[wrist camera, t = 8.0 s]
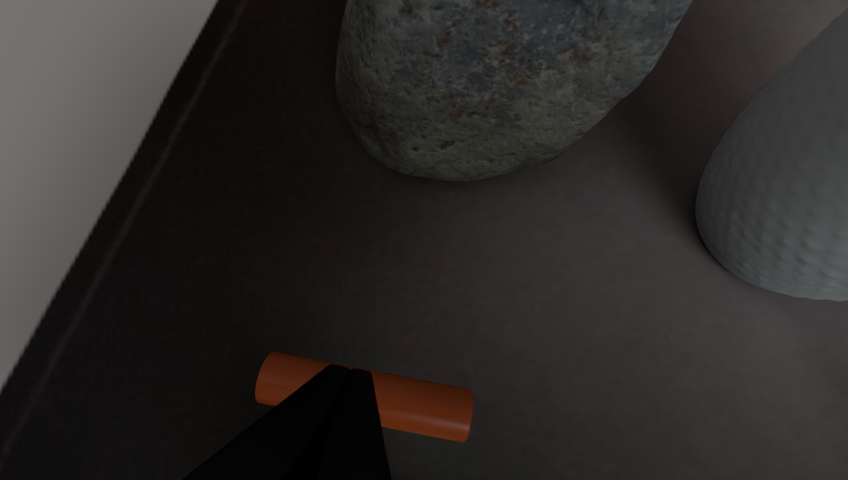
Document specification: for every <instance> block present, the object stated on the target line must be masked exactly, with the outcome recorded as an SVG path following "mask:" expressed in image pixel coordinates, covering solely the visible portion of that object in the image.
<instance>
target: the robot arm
mask: <svg viewBox="0 0 848 480" xmlns="http://www.w3.org/2000/svg"><path fill="white" fill-rule="evenodd" d="M182 480H391V475H390V469H389V464H388V458H387V453H386V448H385V442H384V437H383V431H382V426H381V421H380V415H379V410H378V404H377V399H376V394H375V388H374V383H373V377H372V374H371V372H370V371H367V370H361V369H356V368H353V369H351V370H350V369H349V368H348V367H346V366H340V365H335V364H330V365H328V366H326V367H325V368H324V369H323V370H321V371H320V372H319V373H317V374H316V375H315V376H314V377H312V378H311V379H310V380H309V381H307V382H306V383H305V384H303V385H302V386H301V387H300V388H298V389H297V390H296V391H294V392H293V393H292V394H291V395H289V396H288V397H287V398H286V399H284V400H283V401H282V402H280V403H279V404H278V405H277V406H275V407H274V408H273V409H271V410H270V411H269V412H268V413H266V414H265V415H264V416H263V417H261V418H260V419H259V420H257V421H256V422H255V423H254V424H252V425H251V426H250V427H249V428H247V429H246V430H245V431H243V432H242V433H241V434H240V435H238V436H237V437H236V438H234V439H233V440H232V441H231V442H229V443H228V444H227V445H226V446H224V447H223V448H222V449H220V450H219V451H218V452H217V453H215V454H214V455H213V456H211V457H210V458H209V459H208V460H206V461H205V462H204V463H203V464H201V465H200V466H199V467H197V468H196V469H195V470H194V471H192V472H191V473H190V474H188V475H187V476H186V477H185V478H183V479H182Z"/></svg>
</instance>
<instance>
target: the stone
mask: <svg viewBox="0 0 848 480" xmlns="http://www.w3.org/2000/svg"><path fill="white" fill-rule="evenodd" d="M691 2H692V0H347V3H346V7H345V11H344V15H343V20H342V25H341V29H340V35H339V40H338V48H337V60H336V72H335V89H336V97H337V102H338V107H339V110H340V112H341V113H342V115H343V116H344V118H345V120H346V122H347V123H348V125H349V126H350V128H351V129H352V131H353V133H354V135H355V137H356V138H357V140H358V142H359V143H360V145H361V146H362V147H363V148H364V150H365V151H366V152H367V153H368V154H369V155H370V156H371V157H372V158H373V159H375V160H376V161H377V162H379V163H380V164H382V165H383V166H385V167H386V168H389V169H391V170H394V171H397V172H399V173H402V174H406V175H410V176H417V177H425V178H432V179H438V180H448V181H464V182H469V181H472V180H481V179H485V178H489V177H492V176H497V175H503V174H507V173H510V172H514V171H518V170H521V169H524V168H527V167H532V166H537V165H541V164H544V163H547V162H549V161H551V160H554V159H556V158H557V157H559V156H560V155H561V154H563V153H564V152H565V151H567V150H568V149H569V148H571V147H572V146H573V145H574V144H575V143H576V142H578V141H579V140H580V139H581V138H582V137H583V136H584V135H585V134H586V133H587V132H588V131H589V130H590V129H591V128H593V127H594V126H595V125H596V124H597V123H598V122H599V121H600V120H602V119H603V118H604V117H605V116H606V115H607V114H608V113H609V112H610V111H611V110H612V109H613V108H614V106H615V105H616V104H617V103H618V102H620V101H621V100H622V99H623V98H625V97H626V96H627V95H629V94H630V93H631V92H632V91H634V90H635V89H636V88H637V87H638V86H639V85H640V84H641V82H642V81H643V80H644V78H645V77H646V76H647V75H648V74H649V73H650V72H651V71H652V70H653V68H654V66H655V65H656V63H657V61H658V60H659V58H660V56H661V54H662V53H663V51H664V49H665V48H666V46H667V44H668V43H669V41H670V39H671V37H672V35H673V33H674V31H675V29H676V28H677V26H678V24H679V23H680V21H681V19H682V18H683V16H684V14H685V13H686V11H687V9H688V8H689V6H690V4H691Z"/></svg>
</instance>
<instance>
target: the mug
mask: <svg viewBox="0 0 848 480" xmlns="http://www.w3.org/2000/svg"><path fill="white" fill-rule="evenodd" d="M695 217H696V223H697V227H698V231H699V233H700V236H701V238H702V240H703V242H704V244H705V245H706V247H707V249H708V250H709V251H710V253H711V254H712V255H713V256H714V258H715V259H716V260H717V261H718V262H719V263H720V264H721V265H722V266H723V267H724V268H726V269H727V270H728V271H729V272H731V273H732V274H734V275H735V276H737V277H738V278H740V279H742V280H744V281H746V282H748V283H750V284H753V285H755V286H758V287H760V288H763V289H766V290H769V291H773V292H777V293H782V294H786V295H789V296H792V297H804V298H808V299H814V300H823V299H828V300H834V301H846V300H848V9H846V10H845V11H844V12H843V13H842V15H840V16H839V17H837V18H836V19H834V20H833V21H832V22H831V23H830V25H829V26H828V27H827V28H826V29H825V30H823V31H822V32H821V33H820V34H819V35H818V36H817V37H816V38H815V39H814V40H812V41H811V42H810V43H809V44H808V45H807V46H806V47H804V48H803V49H802V50H800V52H799V53H798V54H797V56H796V57H794V58H793V59H792V60H791V61H790V63H789V64H787V65H786V66H785V67H783V68H782V69H781V71H780V72H779V73H777V74H776V75H775V76H774V77H773V78H772V79H771V81H770V82H769V83H768V84H767V85H766V86H765V87H764V88H763V89H762V90H761V91H759V92H758V93H757V95H756V97H754V98H753V99H752V100H751V101H750V103H749V105H748V106H747V107H746V108H745V109H744V110H743V111H742V112H741V113H740V114H739V115H738V116H737V118H736V120H735V121H734V122H733V124H732V126H731V127H730V128H729V129H728V130H727V131H726V132H725V134H724V135H723V137H722V139H721V141H720V143H719V144H718V145H717V147H716V148H715V150H714V151H713V152H712V155H711V158H710V160H709V162H708V163H707V164H706V165H705V167H704V173H703V175H702V177H701V178H700V184H699V187H698V191H697V196H696V204H695Z"/></svg>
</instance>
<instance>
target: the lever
mask: <svg viewBox="0 0 848 480" xmlns="http://www.w3.org/2000/svg"><path fill="white" fill-rule="evenodd" d="M330 364H335V363H330V362H324V361H319V360H314V359H309V358H303V357H298V356H293V355H288V354H282V353H277V352H272V353H270V354H269V355H268V356H267V358H266V359H265V361H264V363H263V365H262V367H261V369H260V372H259V375H258V379H257V383H256V389H255V398H256V401H257V402H258V403H262V404H267V405H272V406H277V405H278V404H279V403H280V402H282V401H283V400H284V399H286V398H287V397H288V396H289V395H291V394H292V393H293V392H294V391H296V390H297V389H298V388H300V387H301V386H302V385H303V384H305V383H306V382H307V381H309V380H310V379H311V378H312V377H314V376H315V375H316V374H317V373H319V372H320V371H321V370H323V369H324V368H325V367H326V366H328V365H330ZM335 365H340V364H335ZM340 366H345V365H340ZM346 367H348V368H349V369H350V370H351V369H353V368H356V367H351V366H346ZM356 369H361V368H356ZM361 370H366V369H361ZM367 371H370V372H371V374H372V377H373V383H374V388H375V394H376V399H377V404H378V410H379V415H380V421H381V426H382V427H385V428H391V429H396V430H401V431H406V432H411V433H416V434H422V435H427V436H432V437H437V438H442V439H447V440H453V441H458V442H463V443H464V442H466V440H467V438H468V435H469V431H470V426H471V420H472V412H473V392H472V390H471V389H466V388H460V387H455V386H450V385H445V384H440V383H434V382H429V381H424V380H419V379H413V378H408V377H403V376H398V375H392V374H387V373H382V372H377V371H371V370H367Z"/></svg>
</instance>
